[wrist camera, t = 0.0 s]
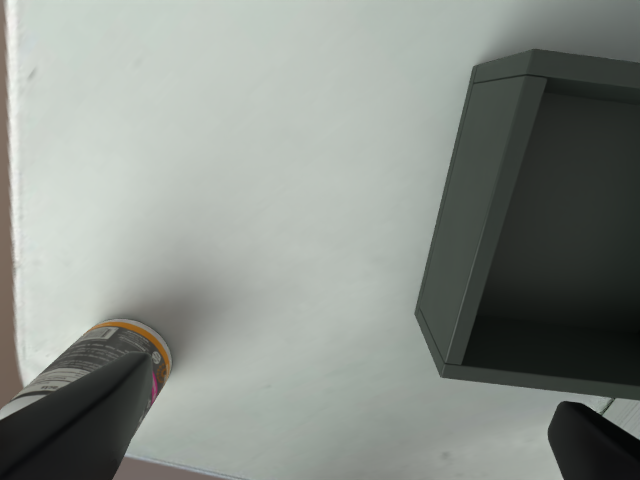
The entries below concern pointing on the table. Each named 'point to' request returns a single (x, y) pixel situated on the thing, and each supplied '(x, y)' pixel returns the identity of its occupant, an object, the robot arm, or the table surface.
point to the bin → (541, 229)
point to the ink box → (625, 415)
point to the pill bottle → (98, 361)
